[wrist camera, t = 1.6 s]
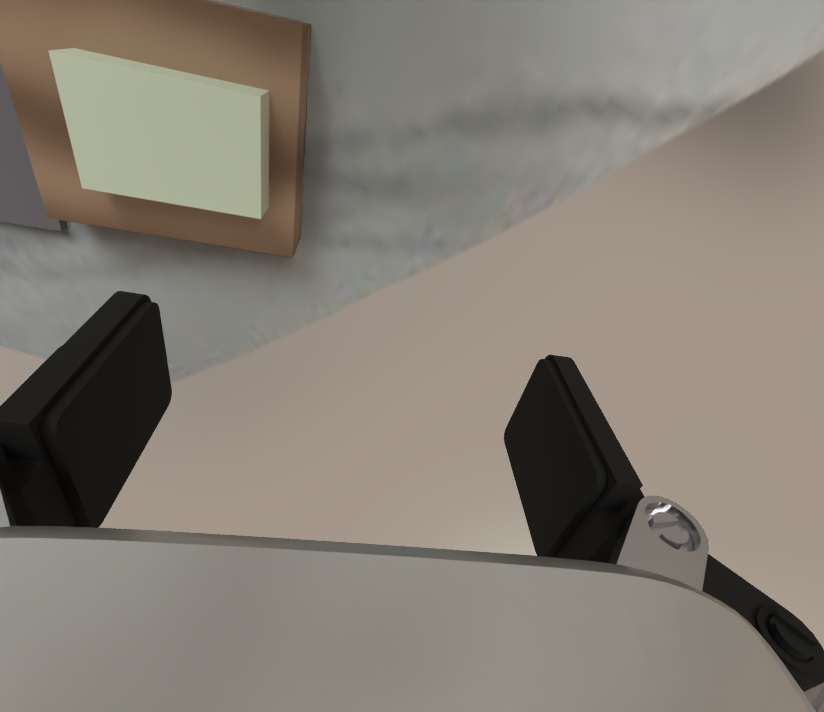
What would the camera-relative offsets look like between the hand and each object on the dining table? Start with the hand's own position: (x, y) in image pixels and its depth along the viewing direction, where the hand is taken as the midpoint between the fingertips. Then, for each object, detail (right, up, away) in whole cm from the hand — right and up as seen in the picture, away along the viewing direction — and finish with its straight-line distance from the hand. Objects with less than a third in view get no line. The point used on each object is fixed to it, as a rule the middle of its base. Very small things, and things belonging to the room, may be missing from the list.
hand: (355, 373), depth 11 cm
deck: (-12, +14, +14) cm, 23 cm away
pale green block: (-11, +12, +11) cm, 19 cm away
